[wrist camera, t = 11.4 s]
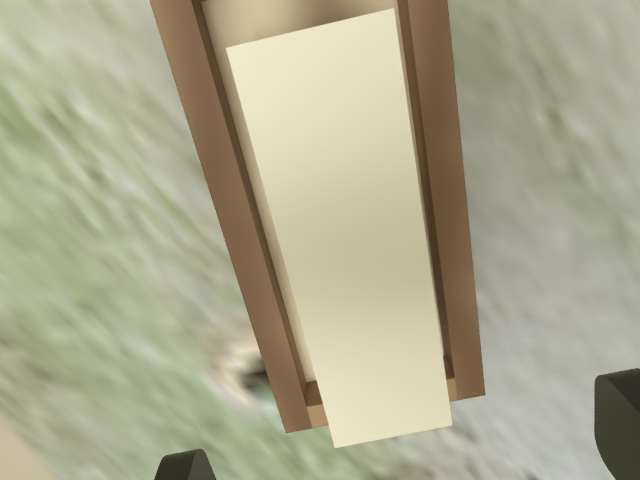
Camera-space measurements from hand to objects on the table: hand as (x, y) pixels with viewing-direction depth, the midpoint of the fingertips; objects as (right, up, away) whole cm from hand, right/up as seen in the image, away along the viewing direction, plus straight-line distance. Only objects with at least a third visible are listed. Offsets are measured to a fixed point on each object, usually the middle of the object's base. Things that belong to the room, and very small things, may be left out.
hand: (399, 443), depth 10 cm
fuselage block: (-1, +6, +14) cm, 15 cm away
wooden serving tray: (-1, +6, +15) cm, 16 cm away
